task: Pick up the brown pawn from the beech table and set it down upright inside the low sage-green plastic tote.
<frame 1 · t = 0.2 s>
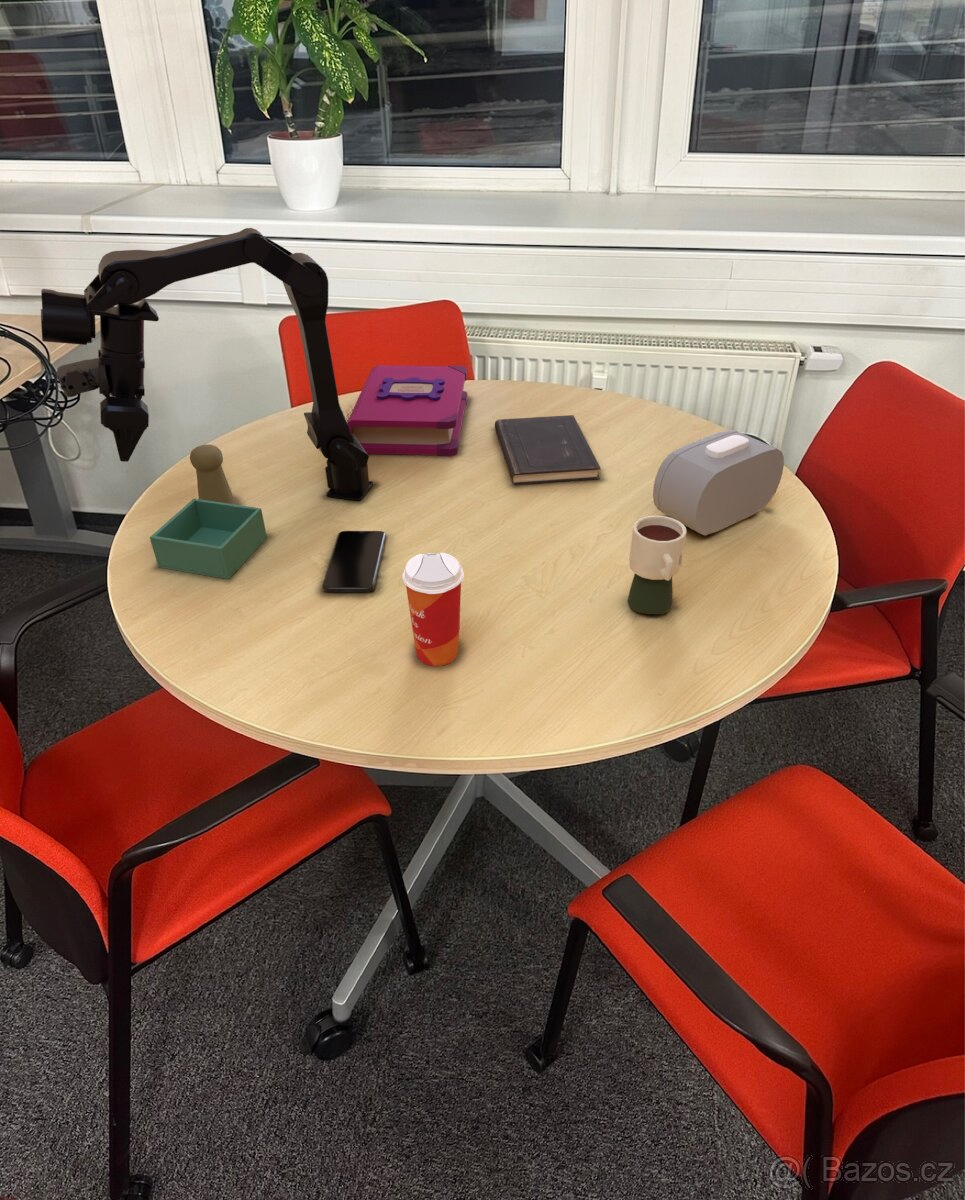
hand: (123, 448, 126), 15 cm above the table, tool pointing down, fingers open, 9 cm apart
alarm clock: (711, 516, 139), on the table
character mug: (648, 606, 119), on the table
paper cup: (437, 654, 111), on the table
tote: (214, 552, 131), on the table
hardcover book: (544, 454, 158), on the table
smartphone: (355, 563, 128), on the table
brown pawn: (217, 507, 143), on the table
book: (411, 424, 169), on the table
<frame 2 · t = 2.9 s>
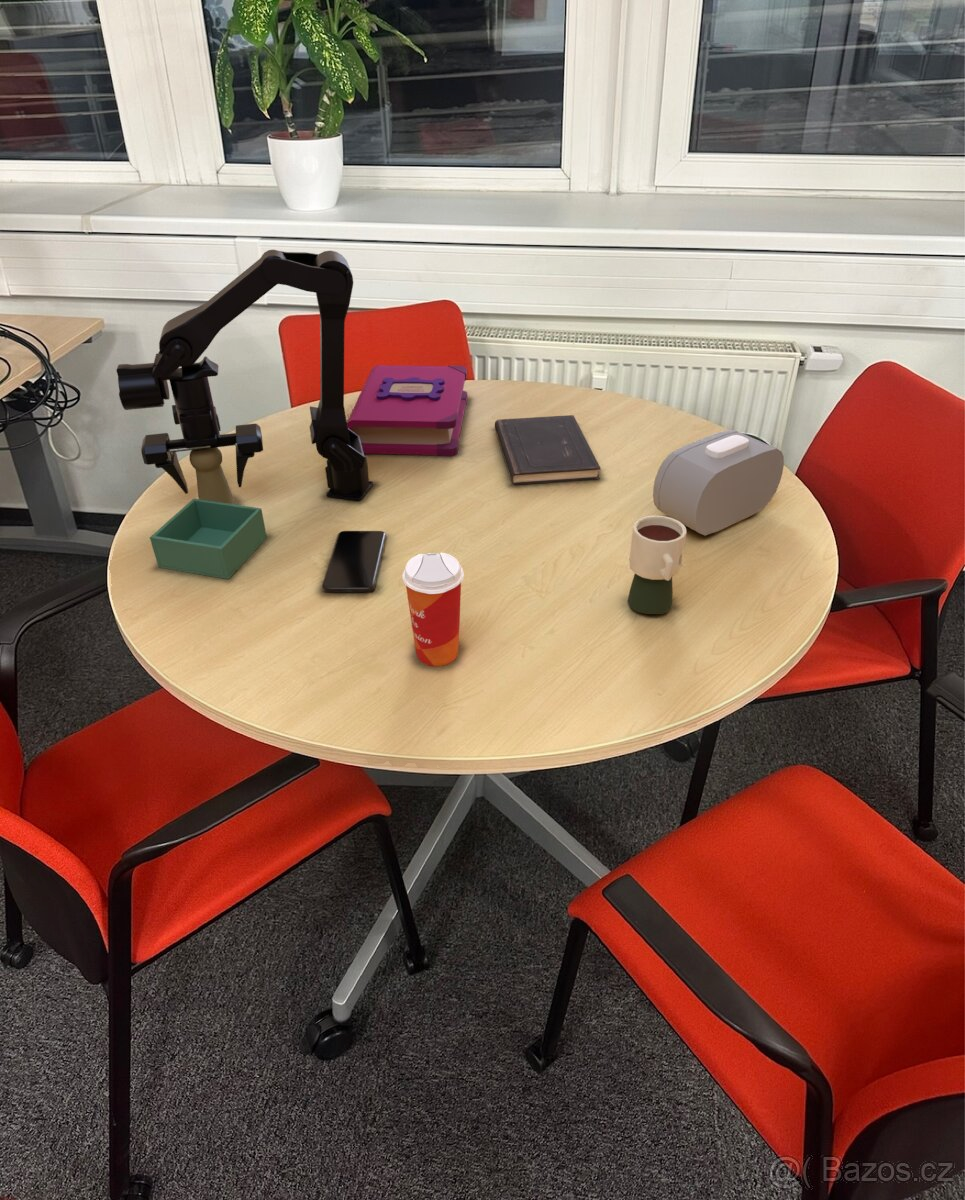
hand: (213, 489, 141), 3 cm above the table, tool pointing down
brown pawn: (217, 507, 143), on the table, touching gripper
everything else where it was.
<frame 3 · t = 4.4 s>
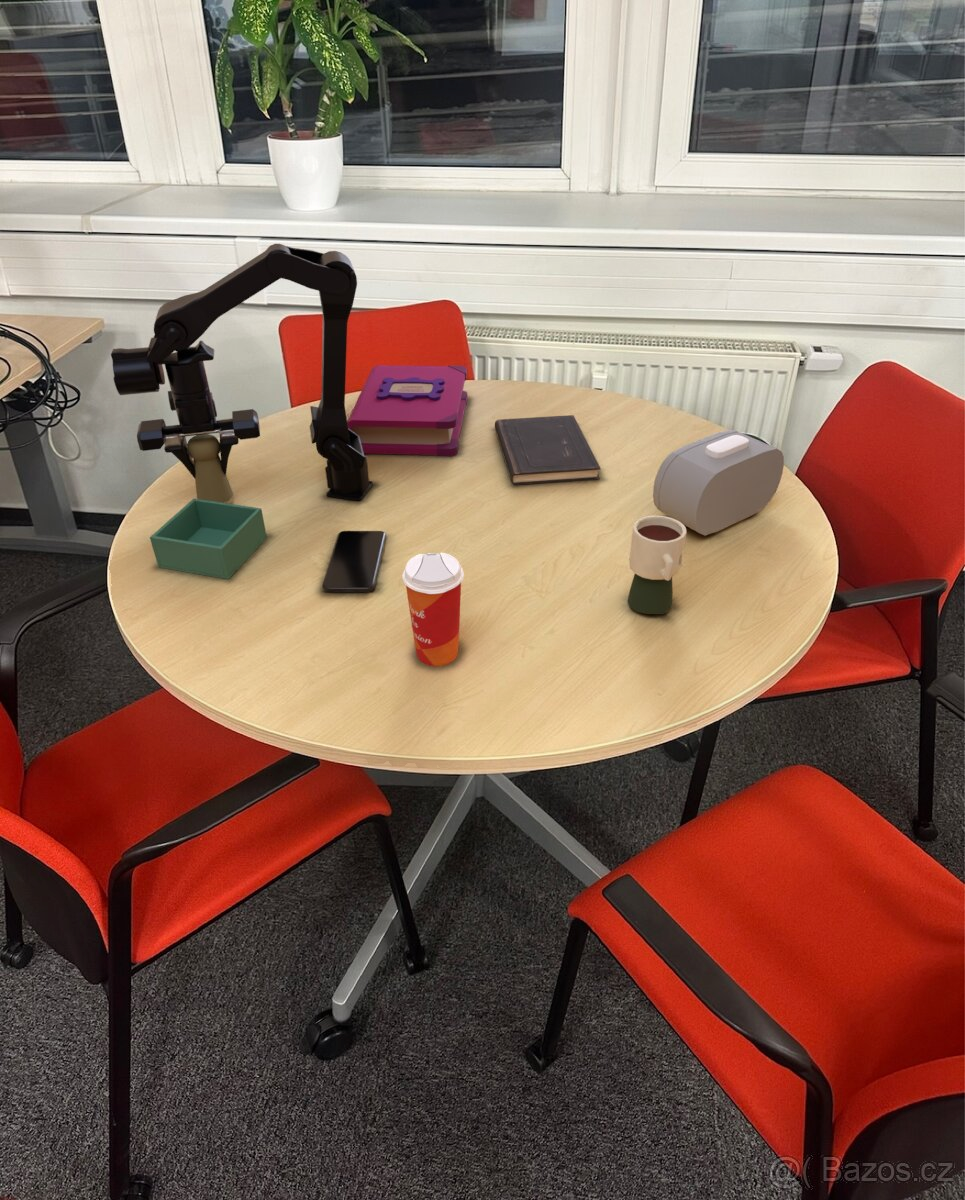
hand: (210, 476, 139), 6 cm above the table, tool pointing down, fingers closed on brown pawn, 4 cm apart
brown pawn: (215, 497, 142), point 2 cm above the table, touching gripper
everything else where it was.
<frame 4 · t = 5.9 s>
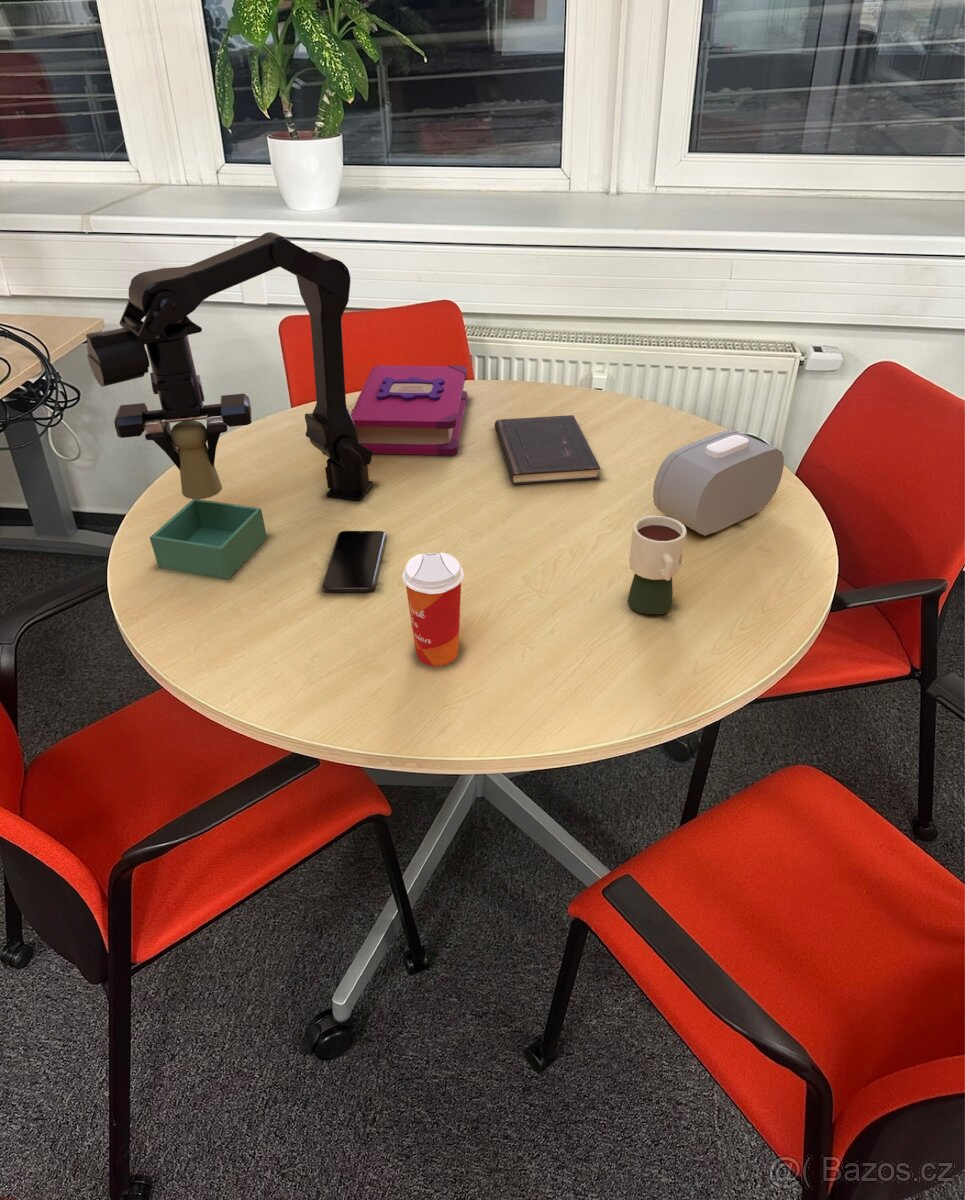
hand: (197, 467, 126), 13 cm above the table, tool pointing down, fingers closed on brown pawn, 4 cm apart
brown pawn: (202, 490, 129), point 9 cm above the table, touching gripper
everything else where it was.
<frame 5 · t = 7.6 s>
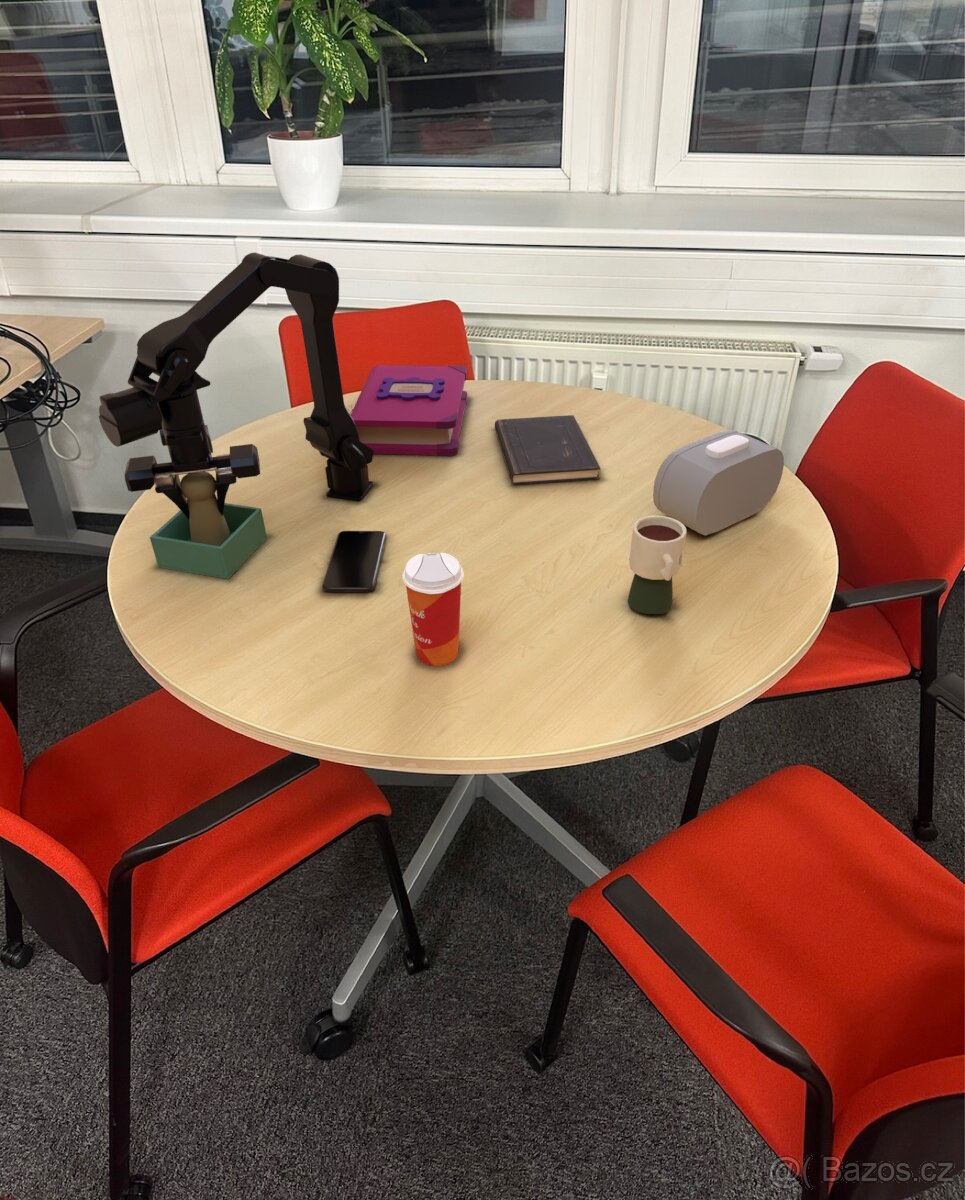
hand: (206, 516, 127), 6 cm above the table, tool pointing down, fingers closed on brown pawn, 4 cm apart
brown pawn: (211, 539, 130), point 2 cm above the table, touching gripper
everything else where it was.
when the fingers open (4 cm above the table, at t = 8.6 s): brown pawn stays where it is, resting on tote.
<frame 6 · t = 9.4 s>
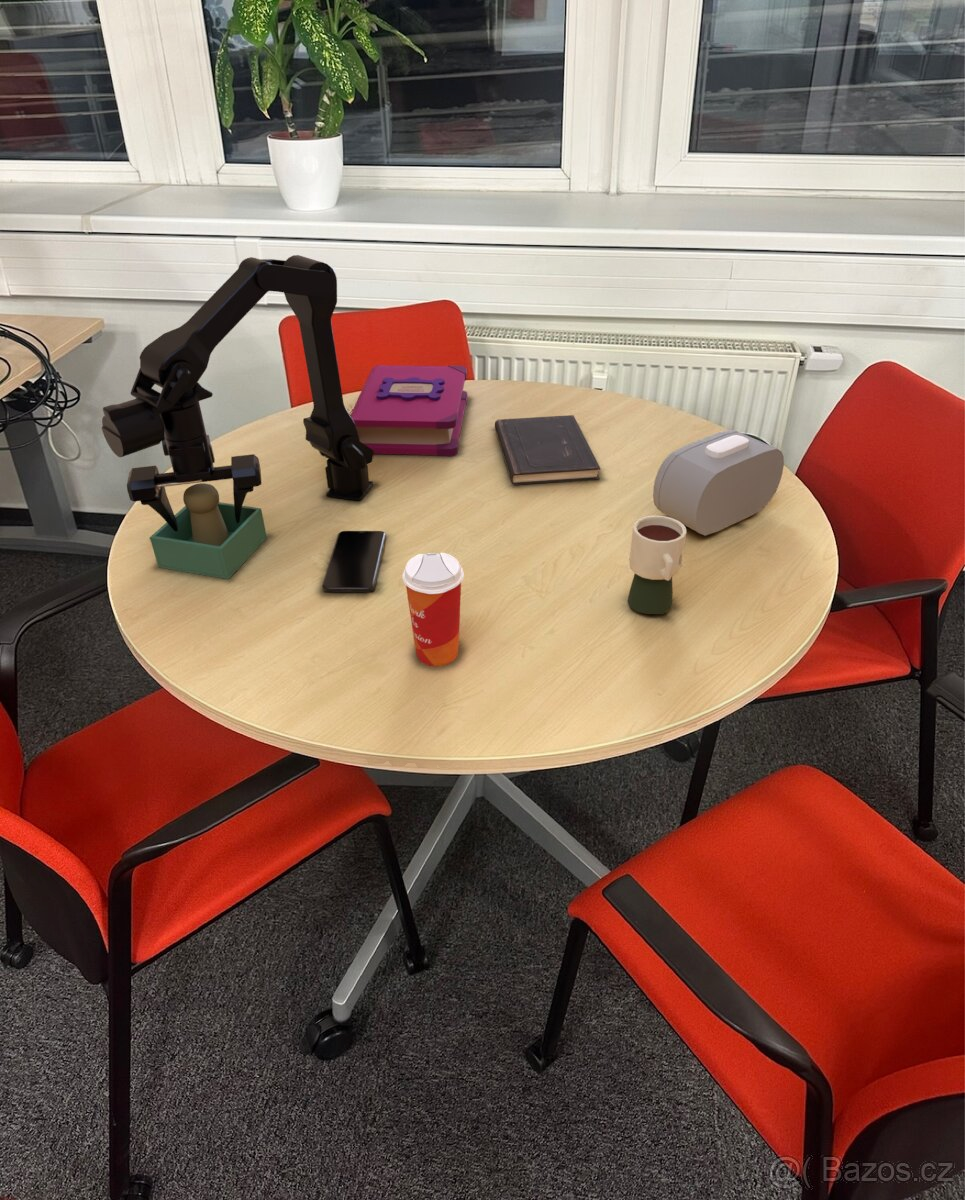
hand: (207, 526, 128), 5 cm above the table, tool pointing down, fingers open, 9 cm apart
brown pawn: (214, 550, 131), resting on tote
everything else where it was.
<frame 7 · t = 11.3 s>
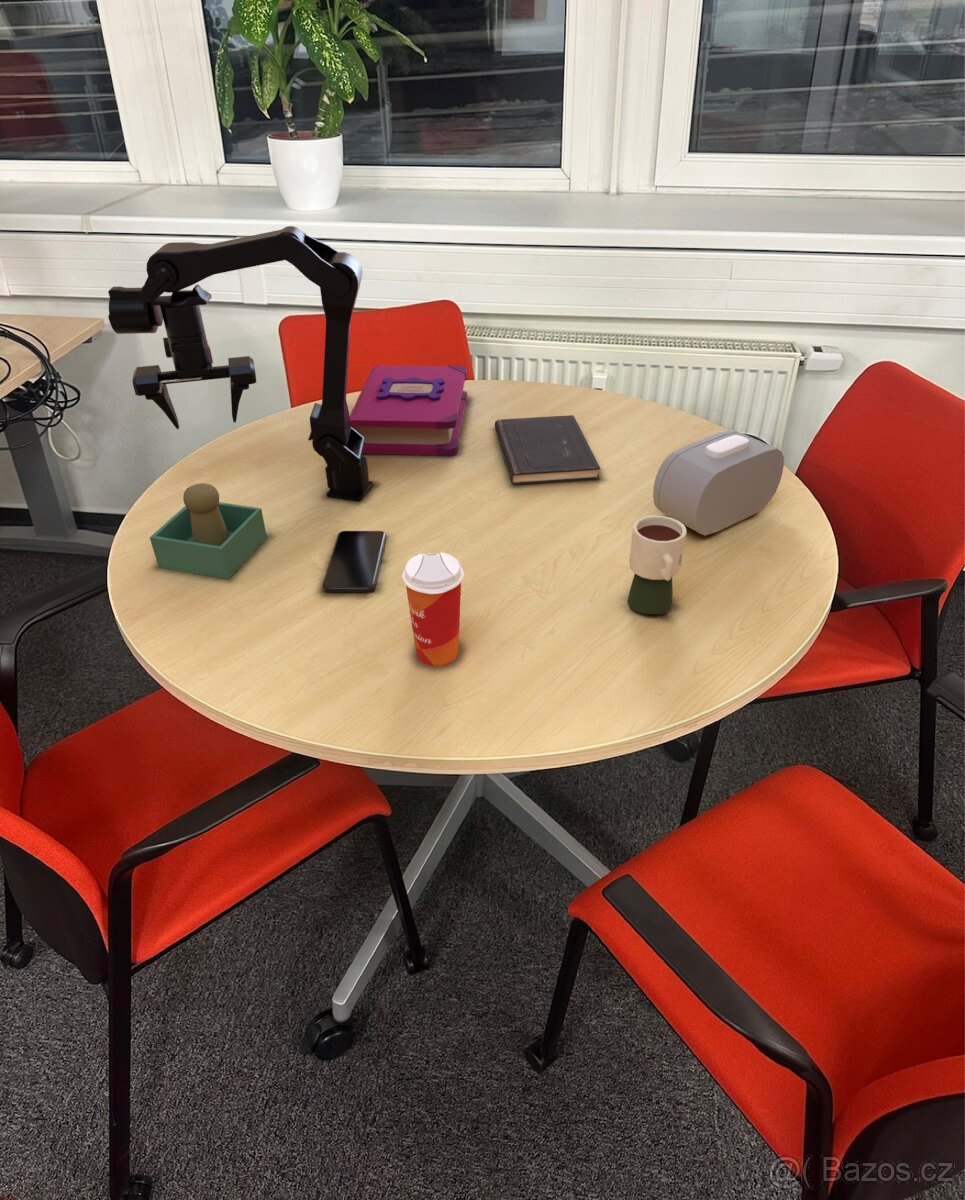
hand: (206, 424, 139), 13 cm above the table, tool pointing down, fingers open, 9 cm apart
nothing on the table moved.
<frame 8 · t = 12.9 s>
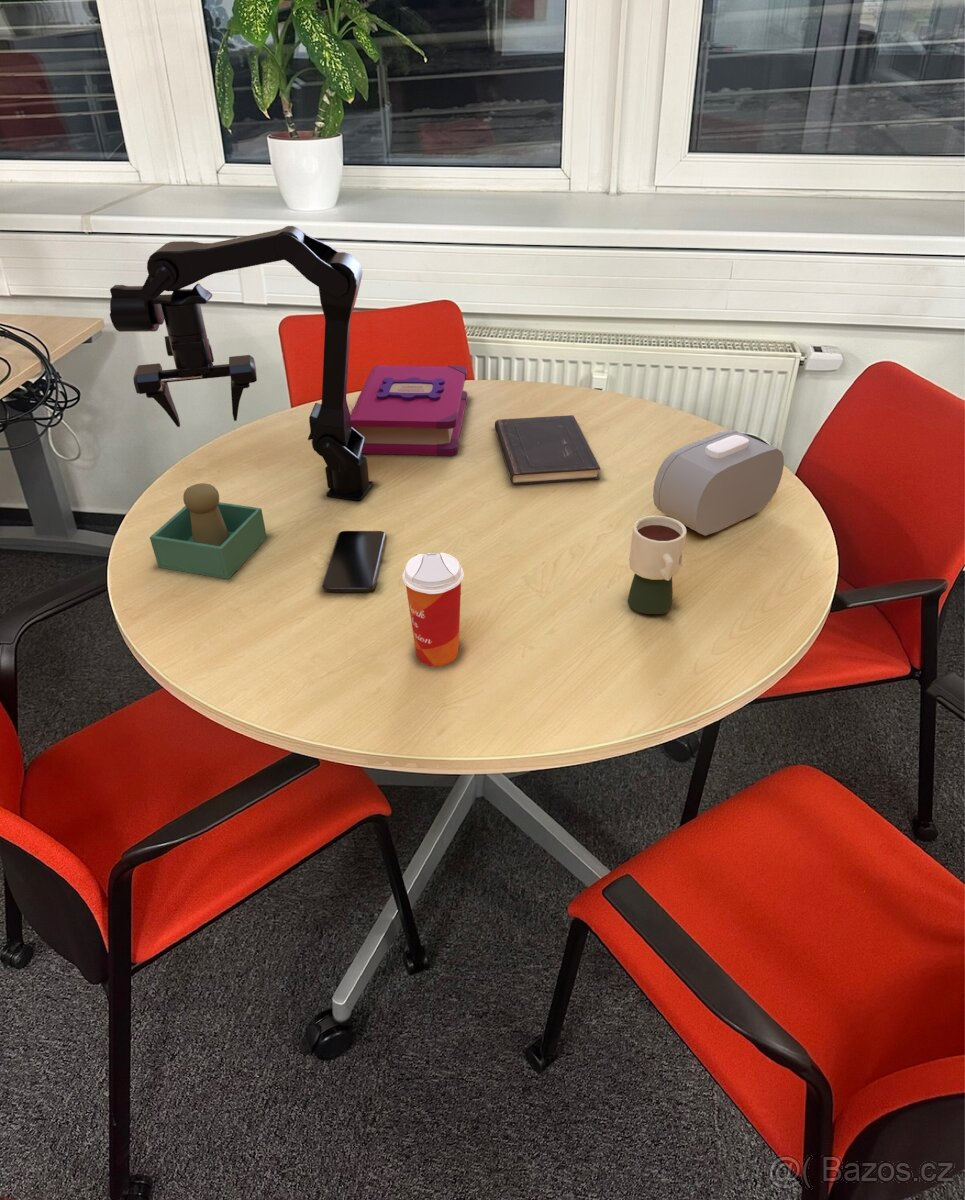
hand: (207, 423, 139), 13 cm above the table, tool pointing down, fingers open, 9 cm apart
nothing on the table moved.
at the end: brown pawn inside the target area in the tote (0.1 cm from its centre), point 0.3 cm above the tote's base; brown pawn tilted 0°; the gripper is holding nothing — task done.
